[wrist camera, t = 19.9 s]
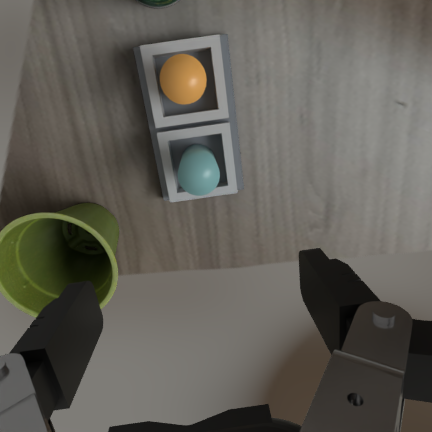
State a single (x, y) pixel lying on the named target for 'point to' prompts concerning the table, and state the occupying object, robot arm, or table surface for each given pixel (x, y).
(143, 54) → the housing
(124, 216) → the table surface
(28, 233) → the plant pot
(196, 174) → the teal pin
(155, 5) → the canned tomato
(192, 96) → the orange pin
